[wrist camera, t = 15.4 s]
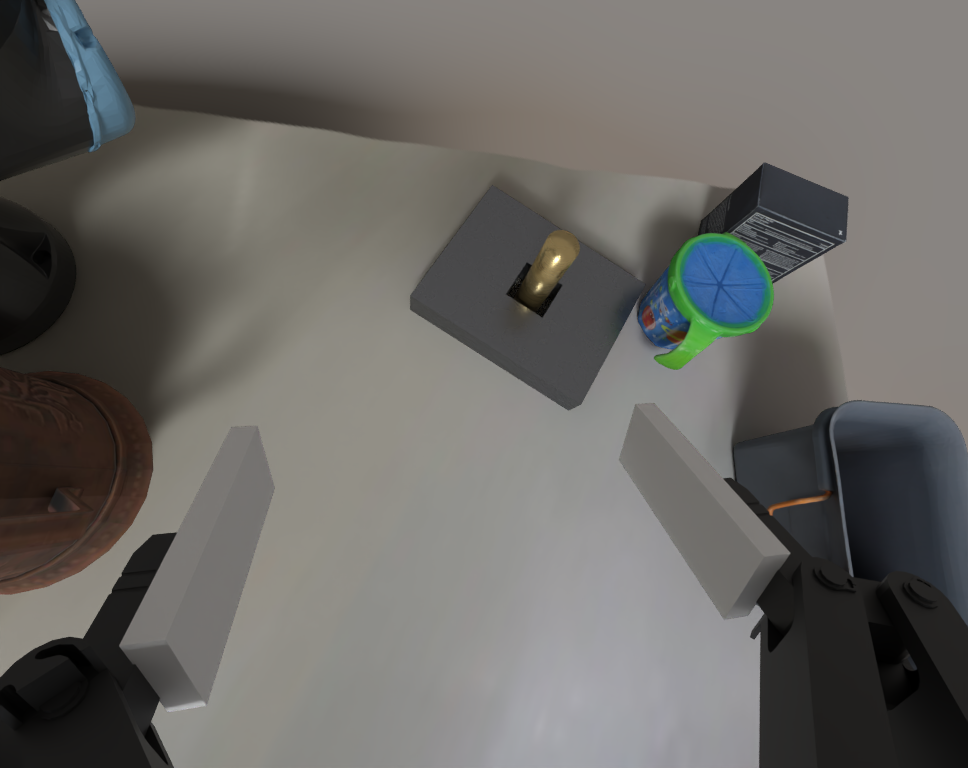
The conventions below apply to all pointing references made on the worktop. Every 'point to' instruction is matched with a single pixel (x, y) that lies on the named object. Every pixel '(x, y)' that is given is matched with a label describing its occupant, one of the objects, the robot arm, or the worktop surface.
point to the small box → (781, 219)
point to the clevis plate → (513, 327)
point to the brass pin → (548, 269)
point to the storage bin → (870, 491)
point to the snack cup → (706, 297)
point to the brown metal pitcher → (65, 474)
